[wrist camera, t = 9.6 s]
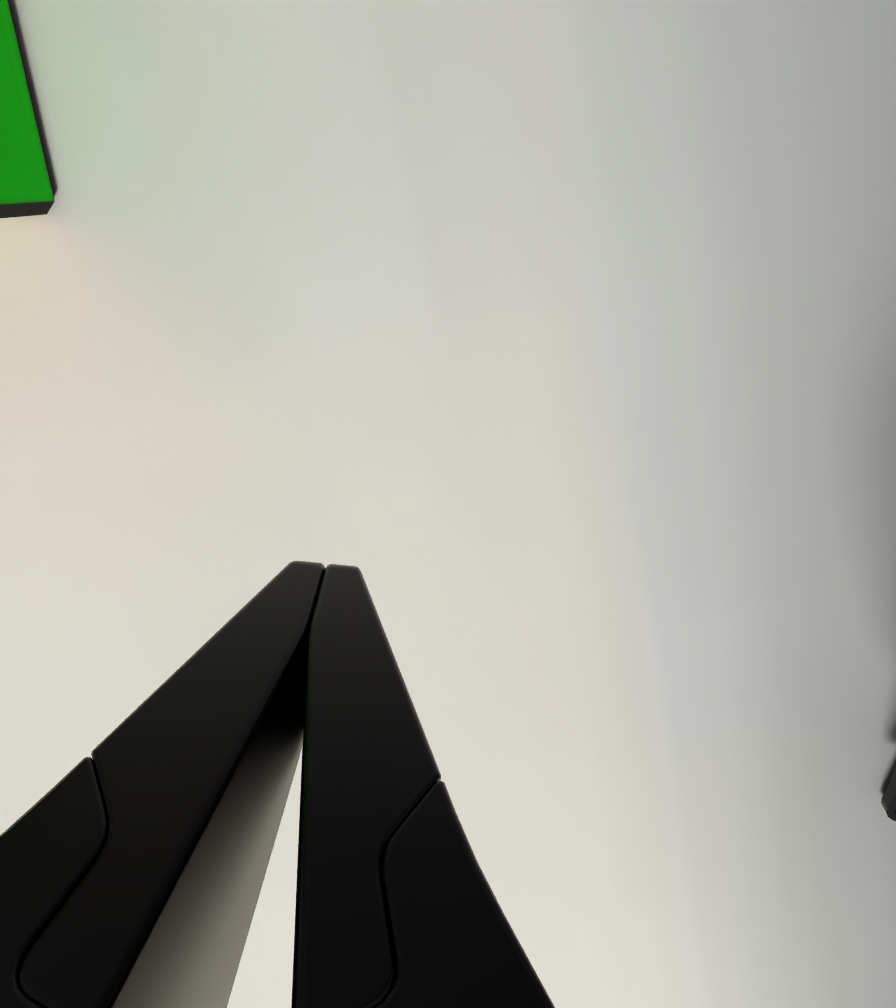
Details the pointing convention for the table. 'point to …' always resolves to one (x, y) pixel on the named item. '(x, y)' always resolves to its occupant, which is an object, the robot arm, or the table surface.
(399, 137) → the table surface
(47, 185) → the puzzle cube
